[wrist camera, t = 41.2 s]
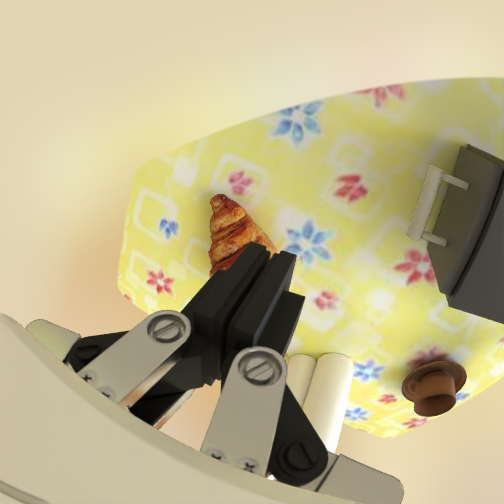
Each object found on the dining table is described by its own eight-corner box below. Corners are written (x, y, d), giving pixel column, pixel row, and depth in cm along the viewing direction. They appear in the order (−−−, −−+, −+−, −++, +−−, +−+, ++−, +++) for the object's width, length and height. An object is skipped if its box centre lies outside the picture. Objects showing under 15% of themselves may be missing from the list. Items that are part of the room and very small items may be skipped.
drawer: (394, 236, 29) (399, 279, 22) (425, 131, 23) (448, 142, 16) (510, 280, 24) (532, 324, 17) (547, 195, 18) (584, 225, 11)
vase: (350, 350, 41) (321, 467, 25) (356, 377, 43) (331, 482, 27) (285, 354, 47) (240, 455, 31) (297, 379, 49) (260, 472, 33)
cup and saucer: (394, 393, 42) (391, 421, 37) (413, 351, 36) (413, 383, 32) (449, 396, 38) (450, 423, 33) (475, 355, 32) (481, 384, 27)
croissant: (298, 304, 45) (311, 334, 37) (239, 326, 45) (242, 358, 38) (250, 177, 37) (256, 185, 29) (181, 205, 37) (170, 221, 30)
